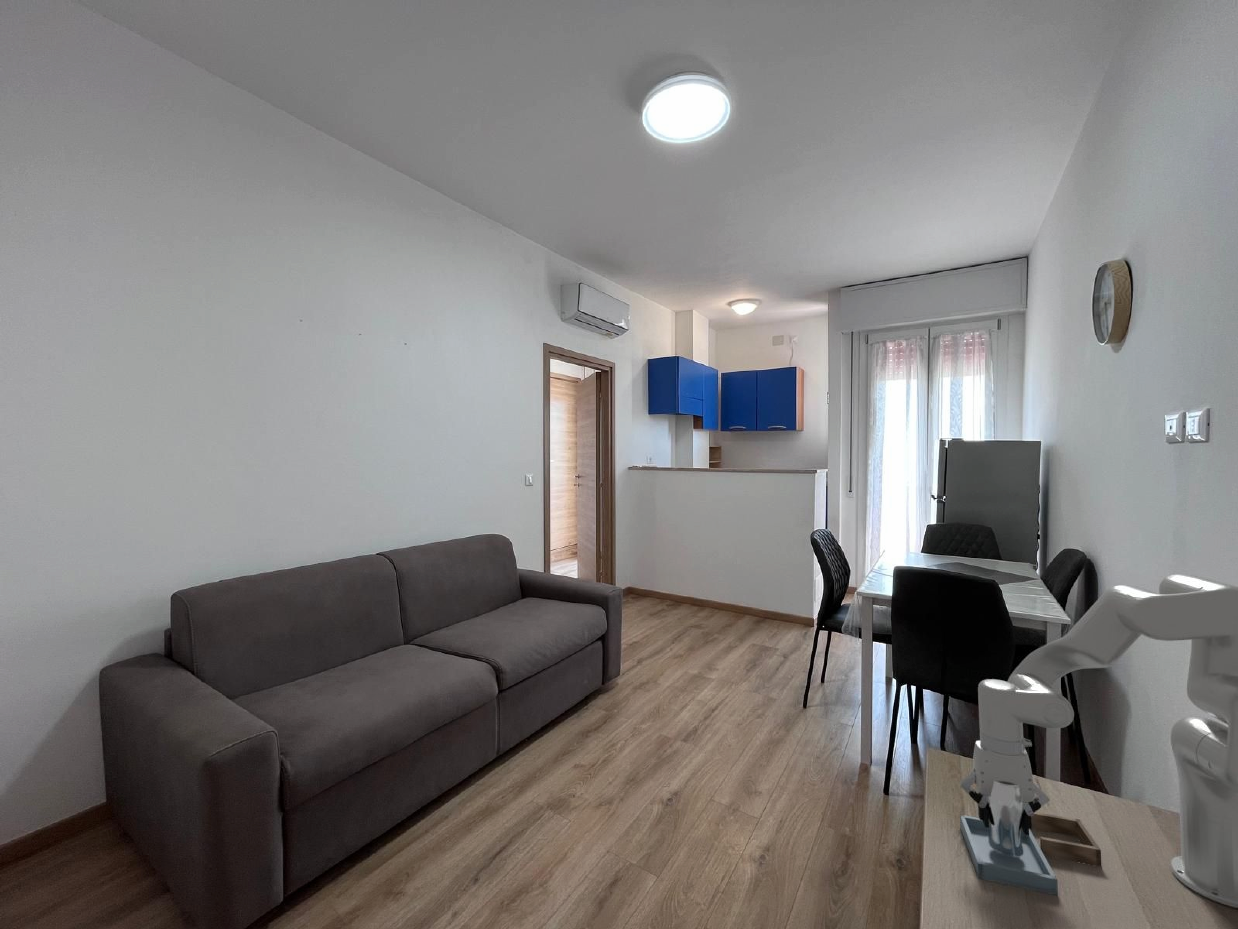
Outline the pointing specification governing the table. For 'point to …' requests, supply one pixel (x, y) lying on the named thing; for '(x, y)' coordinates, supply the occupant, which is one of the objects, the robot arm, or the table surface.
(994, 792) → the silver metal cup
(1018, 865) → the slate tray
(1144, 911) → the table surface
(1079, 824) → the walnut bay
